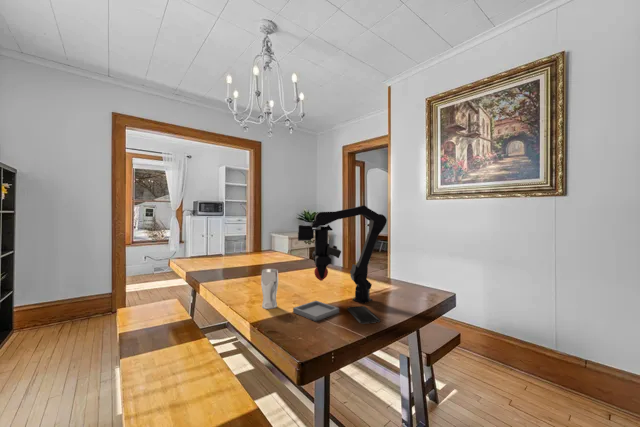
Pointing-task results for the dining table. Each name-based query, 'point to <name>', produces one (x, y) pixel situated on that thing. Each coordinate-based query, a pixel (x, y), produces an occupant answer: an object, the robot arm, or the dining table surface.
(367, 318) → the phone
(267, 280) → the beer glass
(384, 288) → the dining table surface
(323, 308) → the tray
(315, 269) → the onion
